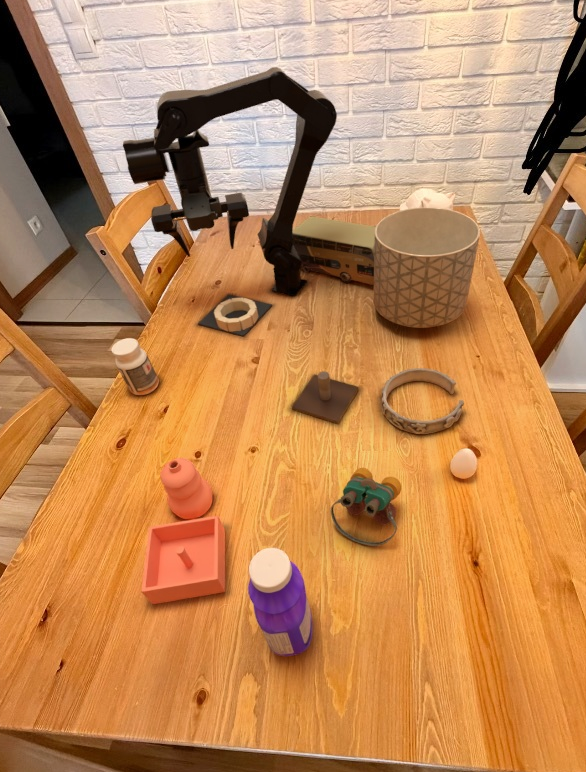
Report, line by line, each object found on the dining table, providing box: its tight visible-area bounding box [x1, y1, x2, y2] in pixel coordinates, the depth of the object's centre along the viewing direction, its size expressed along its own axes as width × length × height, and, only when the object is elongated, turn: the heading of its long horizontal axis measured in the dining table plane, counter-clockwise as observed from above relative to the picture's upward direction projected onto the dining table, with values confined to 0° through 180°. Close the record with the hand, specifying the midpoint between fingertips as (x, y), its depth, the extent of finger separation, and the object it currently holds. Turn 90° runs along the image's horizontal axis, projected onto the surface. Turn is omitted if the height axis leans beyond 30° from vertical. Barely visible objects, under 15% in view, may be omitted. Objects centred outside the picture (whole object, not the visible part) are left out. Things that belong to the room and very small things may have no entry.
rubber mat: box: [197, 294, 273, 337], centre depth 102 cm, size 12×12×1 cm
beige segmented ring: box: [214, 296, 259, 332], centre depth 100 cm, size 9×9×2 cm
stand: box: [291, 370, 360, 425], centre depth 80 cm, size 9×9×6 cm
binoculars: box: [330, 467, 402, 547], centre depth 62 cm, size 9×9×10 cm
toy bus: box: [292, 216, 376, 286], centre depth 108 cm, size 10×23×10 cm, turn 58°
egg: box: [449, 447, 478, 480], centre depth 68 cm, size 4×4×6 cm
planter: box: [373, 207, 481, 329], centre depth 91 cm, size 19×19×18 cm
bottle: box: [247, 547, 314, 657], centre depth 50 cm, size 7×6×17 cm
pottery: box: [141, 457, 226, 605], centre depth 63 cm, size 18×10×10 cm, turn 8°
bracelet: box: [381, 367, 465, 435], centre depth 79 cm, size 14×14×3 cm
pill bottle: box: [111, 337, 160, 396], centre depth 85 cm, size 6×6×10 cm
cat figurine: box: [399, 187, 456, 211], centre depth 109 cm, size 25×10×17 cm, turn 8°
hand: (210, 251), depth 98 cm, fingers open, 9 cm apart
